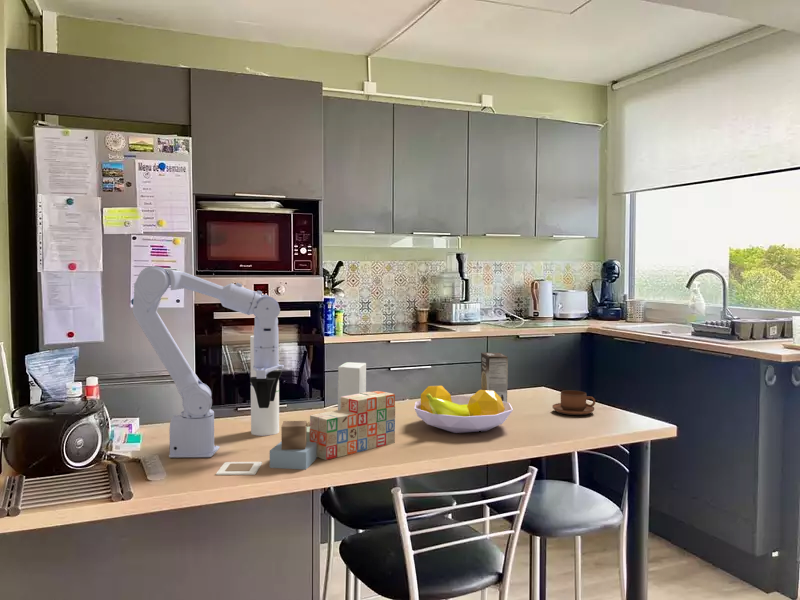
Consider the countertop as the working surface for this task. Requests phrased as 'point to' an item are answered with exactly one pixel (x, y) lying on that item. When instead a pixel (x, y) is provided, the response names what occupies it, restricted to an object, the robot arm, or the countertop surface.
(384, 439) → the stack of blocks
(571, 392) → the cup and saucer
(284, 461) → the base block
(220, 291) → the robot arm
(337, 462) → the countertop surface
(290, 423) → the walnut cube
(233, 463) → the white flat square frame
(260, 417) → the cylindrical container
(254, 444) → the countertop surface
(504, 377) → the coffee box
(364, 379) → the skincare box
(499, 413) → the fruit bowl
